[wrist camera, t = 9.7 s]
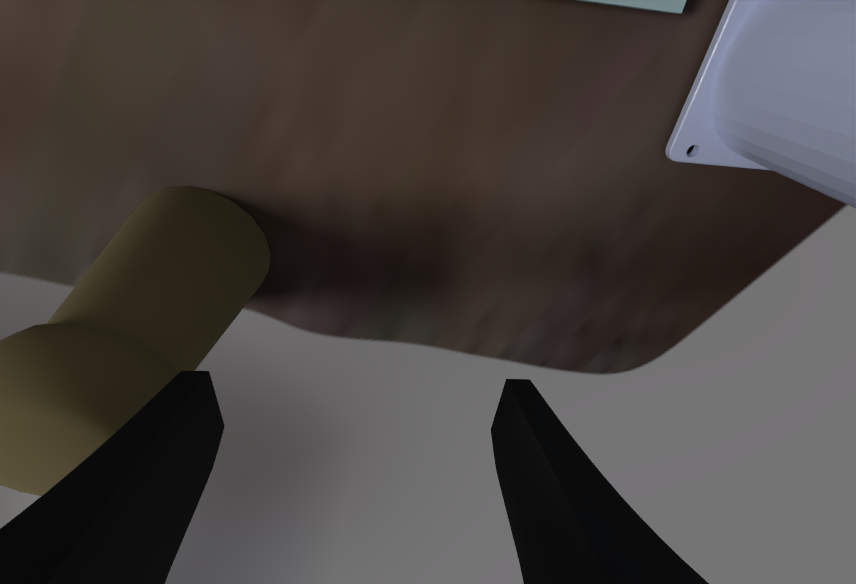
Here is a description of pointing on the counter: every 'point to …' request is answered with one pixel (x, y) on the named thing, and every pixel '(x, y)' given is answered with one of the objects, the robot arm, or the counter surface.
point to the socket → (646, 4)
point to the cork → (125, 331)
